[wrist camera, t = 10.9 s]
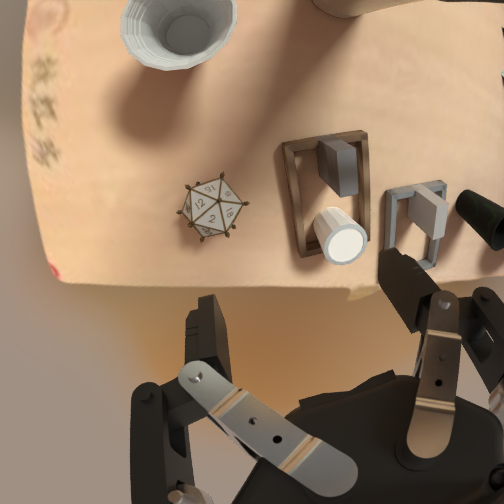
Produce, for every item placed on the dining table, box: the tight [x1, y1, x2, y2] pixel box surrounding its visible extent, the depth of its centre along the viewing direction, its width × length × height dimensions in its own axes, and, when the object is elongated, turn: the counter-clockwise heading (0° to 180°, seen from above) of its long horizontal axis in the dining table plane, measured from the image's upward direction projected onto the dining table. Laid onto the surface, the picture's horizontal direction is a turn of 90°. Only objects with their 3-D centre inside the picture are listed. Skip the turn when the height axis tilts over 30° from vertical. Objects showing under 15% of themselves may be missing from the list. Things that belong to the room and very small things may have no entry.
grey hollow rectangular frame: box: [384, 180, 449, 270], centre depth 47 cm, size 18×12×8 cm, turn 11°
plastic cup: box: [121, 0, 237, 71], centre depth 25 cm, size 11×11×12 cm
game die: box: [176, 171, 250, 243], centre depth 39 cm, size 9×8×10 cm
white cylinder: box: [313, 207, 367, 265], centre depth 45 cm, size 7×7×7 cm
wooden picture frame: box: [282, 130, 370, 258], centre depth 41 cm, size 18×12×8 cm, turn 11°
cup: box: [456, 190, 504, 251], centre depth 44 cm, size 8×8×12 cm
